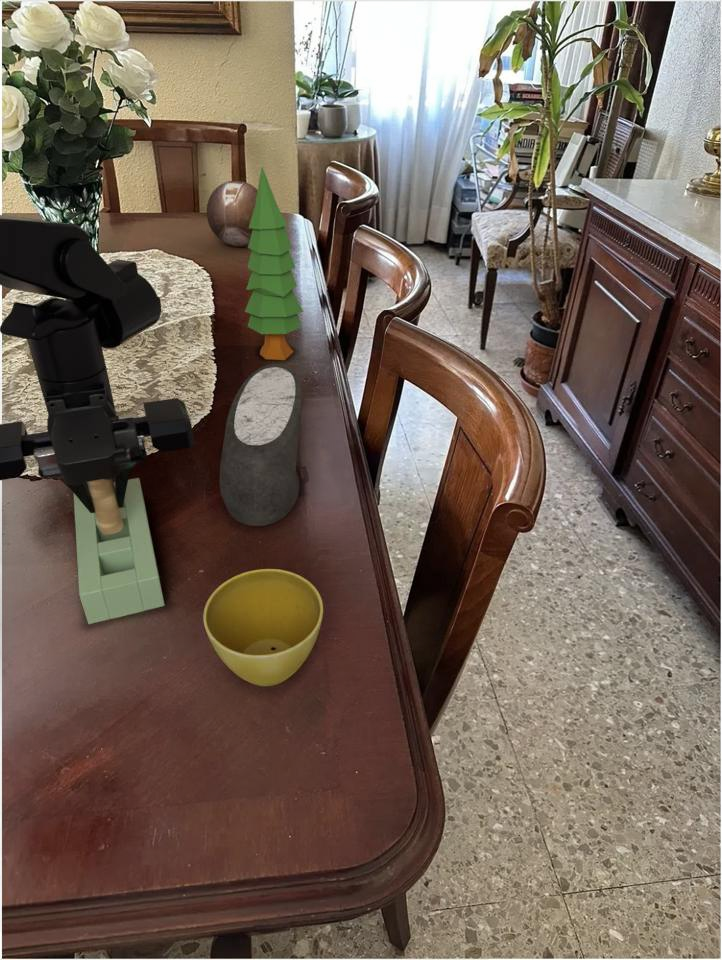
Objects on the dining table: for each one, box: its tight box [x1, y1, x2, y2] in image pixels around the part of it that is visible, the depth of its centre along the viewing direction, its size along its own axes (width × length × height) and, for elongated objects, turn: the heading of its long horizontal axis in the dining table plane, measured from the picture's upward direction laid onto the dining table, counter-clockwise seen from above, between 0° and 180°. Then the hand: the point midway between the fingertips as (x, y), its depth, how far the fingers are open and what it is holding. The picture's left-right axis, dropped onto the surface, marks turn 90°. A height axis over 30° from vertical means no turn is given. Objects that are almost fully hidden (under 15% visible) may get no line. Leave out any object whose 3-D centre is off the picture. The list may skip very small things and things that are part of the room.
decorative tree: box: [244, 166, 304, 361], centre depth 107 cm, size 10×9×30 cm
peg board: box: [73, 477, 166, 625], centre depth 70 cm, size 7×18×4 cm, turn 21°
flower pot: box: [202, 568, 324, 687], centre depth 58 cm, size 10×10×7 cm
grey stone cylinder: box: [219, 363, 303, 527], centre depth 83 cm, size 25×9×9 cm, turn 179°
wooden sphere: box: [206, 180, 258, 248], centre depth 162 cm, size 15×15×15 cm
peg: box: [87, 478, 124, 534], centre depth 66 cm, size 2×2×9 cm
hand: (106, 508), depth 67 cm, fingers closed on peg, 2 cm apart
